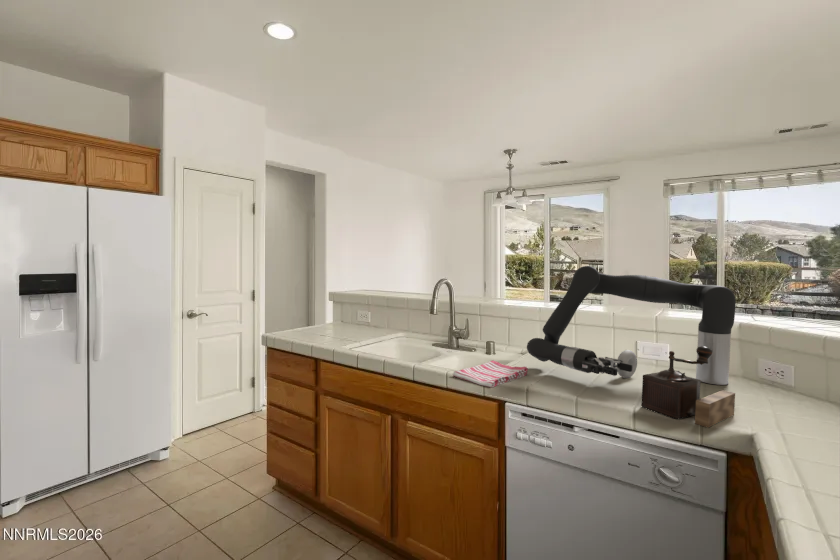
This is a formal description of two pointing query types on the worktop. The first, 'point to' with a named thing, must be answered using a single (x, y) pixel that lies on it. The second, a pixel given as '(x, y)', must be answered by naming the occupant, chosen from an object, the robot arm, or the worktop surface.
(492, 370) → the dish towel
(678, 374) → the manual coffee grinder
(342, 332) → the worktop surface
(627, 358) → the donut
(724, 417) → the block
